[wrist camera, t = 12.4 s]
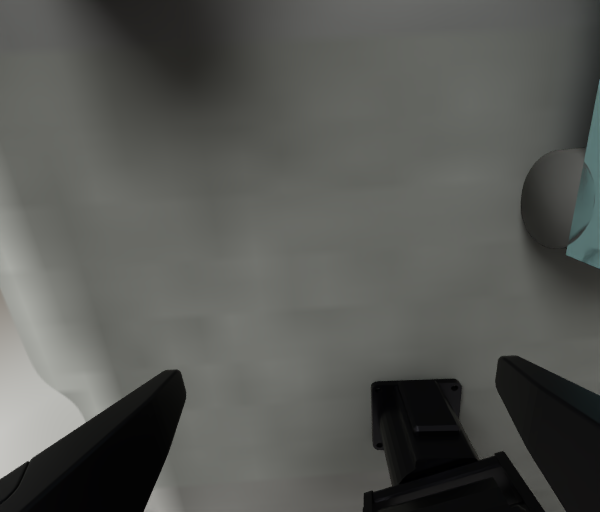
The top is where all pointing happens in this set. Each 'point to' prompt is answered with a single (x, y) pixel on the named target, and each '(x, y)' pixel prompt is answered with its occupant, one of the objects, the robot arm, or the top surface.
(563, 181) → the teal toy wagon
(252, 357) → the top surface
